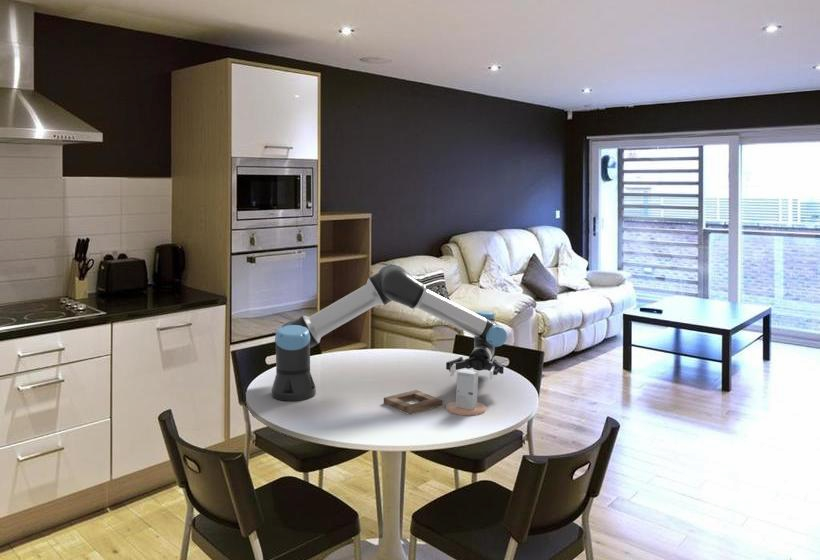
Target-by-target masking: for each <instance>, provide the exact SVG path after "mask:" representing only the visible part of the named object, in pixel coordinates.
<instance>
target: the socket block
mask: <svg viewBox="0 0 820 560" xmlns="http://www.w3.org/2000/svg"><path fill="white" fill-rule="evenodd" d="M412 400H416V401H419V402H414V403H410V402H408V401H412ZM443 402H444V400H443V399H442V398H439V397H436V396H434V395H430V394H429V393H426V392H423V391H420V390H418V389H412V390H409V391H405V392H401V393H397V394H392V395H389V396H385V397H383V404H384V405H387V406H389V407H392V408H393V409H395V410H398V411H400V410H401V411H400V412H403V413H405V412H406V414H407V413H408V415H413V413H414V414H417V412H418V413H420V412H425V411H428V410H432V409H436V408H439V407H443Z"/></svg>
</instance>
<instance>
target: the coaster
mask: <svg viewBox="0 0 820 560" xmlns="http://www.w3.org/2000/svg"><path fill="white" fill-rule="evenodd" d="M445 410H446V411H447V412H448V413H450V412H451V414H453V413H454V415H457V414H458V415H457V416H465V415H471V416H477V415H476V414H478V415H482V414H483V412H484V413H485V412H486V410H487V406H486V405H485V404H484V403H481V402H478V401H477V407H475V408H474V409H473V410H469V409H463V408H459V407H456V400H455V401H451V402H449V403H447V404H446V405H445ZM481 413H482V414H481Z"/></svg>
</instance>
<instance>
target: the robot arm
mask: <svg viewBox="0 0 820 560" xmlns="http://www.w3.org/2000/svg"><path fill="white" fill-rule="evenodd" d="M392 301H393V302H395V303H398V304H401V305H403V306H406V307H408V308H411V309H412V310H414V309H418V310H421V311H423V312H424V313H427V314H429V315H431V316H433V317H435V318H437V319H439V320H442V321H443V322H445V323H447V324H449V325H452V326H453V327H456V328H457V329H459V330H462V331H464V332H466V333H467V334H470V335H472V336H473V337H474V339H473V344H474V345H473V347H474V348H473V350H472V351H471V353H470V354H469V356H468V358H465V359H464V357H463V356H460V357H458V358H456V359H453V360H449V361H446V364H445V369H446V370H447V371H449V376H450V377H453V376H454V375H455V373H457V371H459V370H461V369H467V370H471V369H473V370H474V371H478V372H479V371H480V372H481V371H489V380H493V378H494V376H497V375H498V374H501V375H503V374H504V365H502V364H501V363H500V362H499V361H498V360H497V359H493V357H494V356H495V353H496V352H495V351H496V349H495V348H497V347H501V346H503V345H504V344H505V343H506V342H507V338H508V334H507V331H506V329H505V328H504V327H503V326H501V325H499V324H498V323H497V322H495V321H496V320H495V313H494V312H492V311H488V310H482V311H476V312H474V311H472V310H470V309H468V308H466V307H465V306H461V305H460V304H458V303H456V302H454V301H452V300H450V299H448V298H446V297H444V296H442V295H440V294H437V292H434V291H432V290H430V289H428V288H427V287H426V284H424V283H422V282H420V281H419V280H417V279H416V278H414V277H413V276H412V275H411V274H409V272H408V271H406V270H405V269H404V268H403V267H401V266H399V265H396V264H389V265H386V266H383V267H382V268H381V269H379V271H378V272H376V273H375V274H373V275H371V276H370V277H369V278H367V281H366V284H364V285H362V286H361V287H359V288H357V289H356V290H354V291H351V292H350V293H349V294H347V295H345V296H344V297H342V298H339V299H337V300H336V301H335V302H333V303H331V304H330V305H328V306H326V307H324V308H322V309H321V310H319V311H317V312H316V313H313V314H312V315H310V316H308V315H302V316H300V317H299V318H296V319H294V320H290V321H287V322H286V323H284V324H283V325H282V326H281V327H279V328H278V329H277V330H276V332H275V336H274V342H275V365H276V366H275V367H276V368H275V369H276V372H275V373H276V374H275V378H274V381H273V384H272V386H271V387H272V388H271V397H272V396H273V397H274V398H273V397H272V398H273V399H275V398H276V399H275V400H278V399H279V400H278V401H284V400H286V401H288V402H295V401H303V400H307V399H311V398H313V397H314V396H315V395H316V391H317V390H316V384H315V381H314V379H313V376H312V373H311V348H313V347H315V346H317V345H319V343H320V342H321V338H322V337H324V336H325V335H327V334H329V333H330V332H332V331H333V330H336V329H337V328H339V327H341V326H342V325H344V324H346V323H348V322H350V321H351V320H353V319H355V318H356V317H358V316H360V315H361V314H364V313H365V312H367V311H368V310H370V309H372V308H375V307H376V306H377V305H380V306H385V305H388V304H389V303H391V302H392ZM492 359H493V360H492Z"/></svg>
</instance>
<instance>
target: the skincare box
mask: <svg viewBox="0 0 820 560" xmlns="http://www.w3.org/2000/svg"><path fill="white" fill-rule="evenodd" d="M478 387H479V371H478V370H474V369H473V370H472V369H467V368H463V369H458V370H457V371H456V394H455V396H456V398H455V401H456V407H459V408H463V409H469V410H473V409H474V408H475V407H477V402H478Z"/></svg>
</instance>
